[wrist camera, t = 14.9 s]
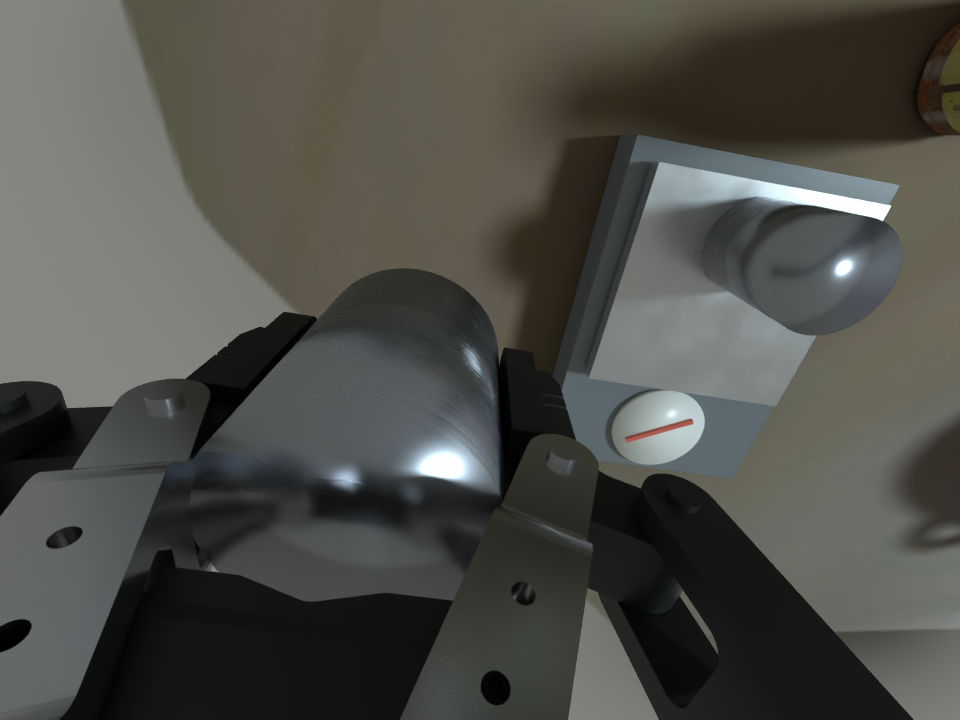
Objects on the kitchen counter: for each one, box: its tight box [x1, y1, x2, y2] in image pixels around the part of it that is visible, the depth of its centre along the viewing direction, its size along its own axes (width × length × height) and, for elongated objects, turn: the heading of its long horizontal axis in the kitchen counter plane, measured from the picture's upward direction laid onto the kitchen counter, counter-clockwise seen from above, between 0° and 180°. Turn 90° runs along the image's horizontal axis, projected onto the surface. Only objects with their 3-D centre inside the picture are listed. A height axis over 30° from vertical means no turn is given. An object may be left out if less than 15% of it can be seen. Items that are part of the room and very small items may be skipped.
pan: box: [585, 161, 891, 406], centre depth 24 cm, size 12×12×1 cm
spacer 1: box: [189, 268, 506, 602], centre depth 9 cm, size 5×5×6 cm
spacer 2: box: [703, 196, 902, 336], centre depth 20 cm, size 5×5×6 cm
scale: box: [552, 135, 900, 478], centre depth 27 cm, size 14×20×4 cm
